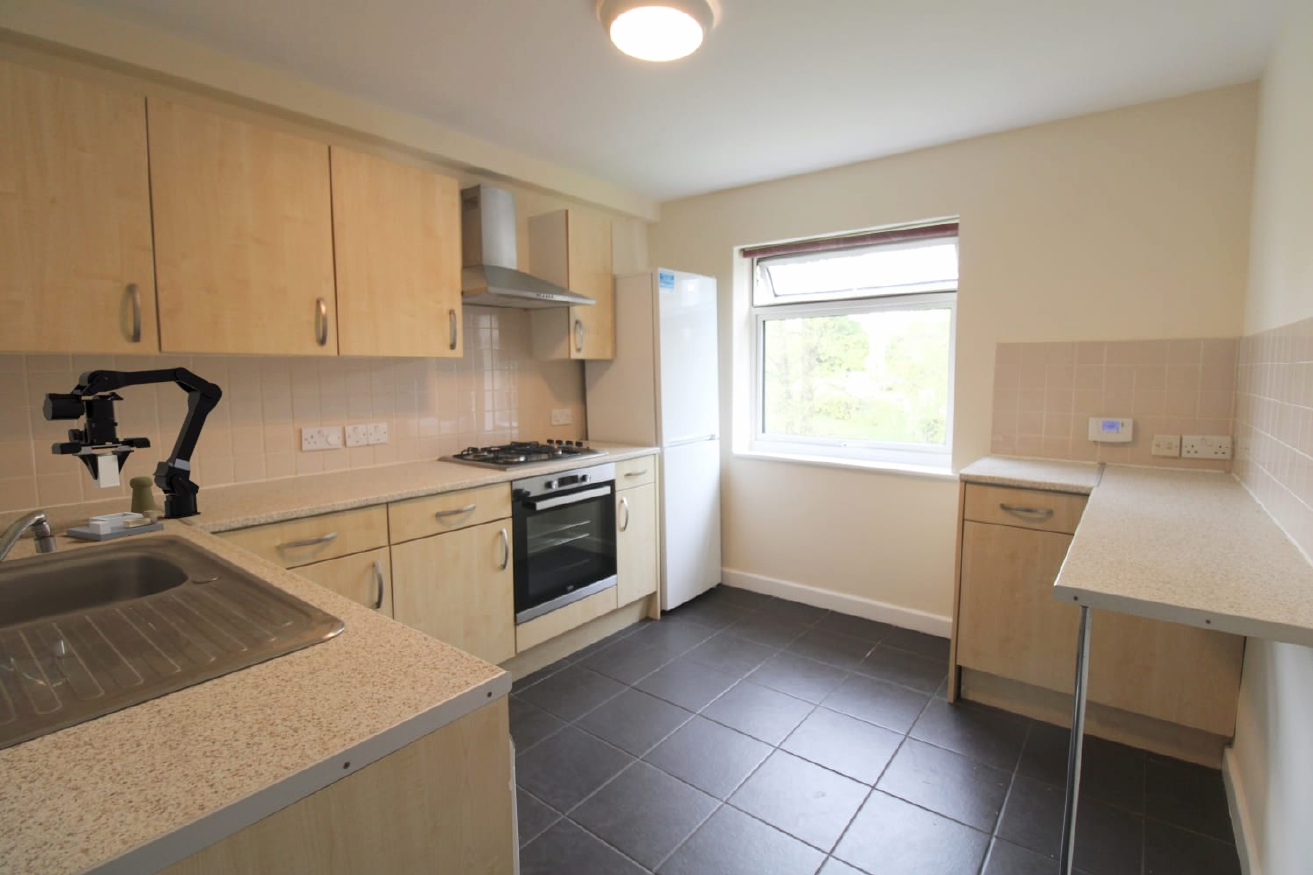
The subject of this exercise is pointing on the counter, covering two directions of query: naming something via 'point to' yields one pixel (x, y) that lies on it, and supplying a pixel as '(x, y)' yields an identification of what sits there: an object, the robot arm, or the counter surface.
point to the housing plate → (111, 527)
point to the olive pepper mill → (142, 495)
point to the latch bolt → (142, 519)
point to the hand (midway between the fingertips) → (106, 478)
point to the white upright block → (107, 470)
